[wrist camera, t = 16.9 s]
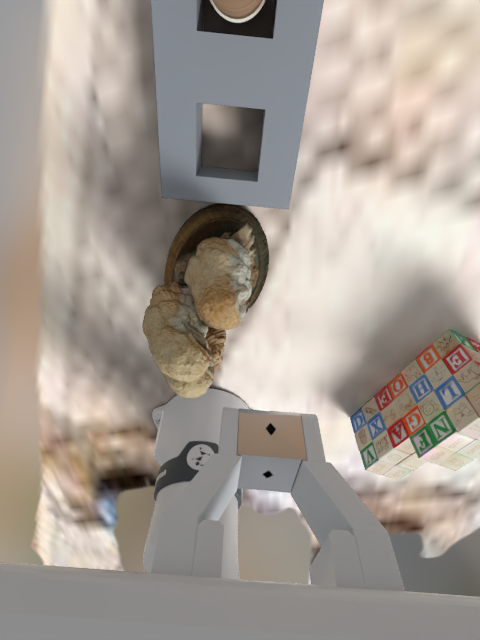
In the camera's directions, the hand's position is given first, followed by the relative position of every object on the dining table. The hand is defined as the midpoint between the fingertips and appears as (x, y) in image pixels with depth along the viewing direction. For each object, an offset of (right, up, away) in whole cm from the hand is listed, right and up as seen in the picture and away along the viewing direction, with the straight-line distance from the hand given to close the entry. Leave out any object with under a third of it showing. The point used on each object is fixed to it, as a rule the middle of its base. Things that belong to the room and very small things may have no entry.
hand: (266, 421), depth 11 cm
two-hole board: (-1, +25, +18) cm, 31 cm away
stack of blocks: (+25, -6, +40) cm, 48 cm away
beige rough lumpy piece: (-4, +9, +30) cm, 32 cm away
